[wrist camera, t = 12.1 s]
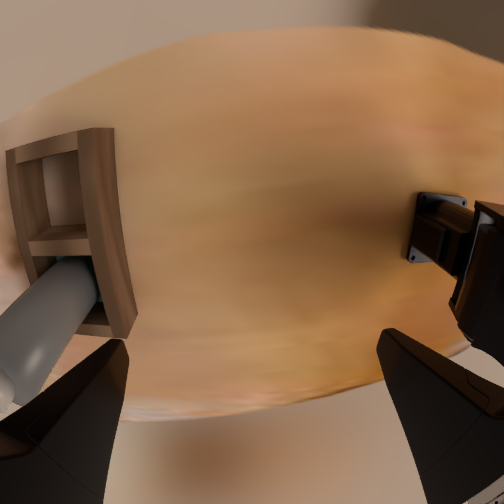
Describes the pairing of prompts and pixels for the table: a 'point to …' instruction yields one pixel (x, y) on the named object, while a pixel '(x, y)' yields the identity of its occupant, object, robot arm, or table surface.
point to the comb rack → (76, 236)
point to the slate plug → (43, 326)
